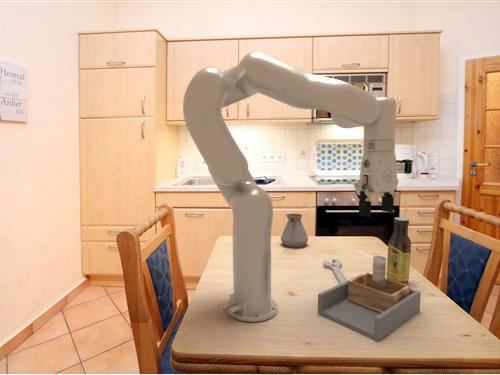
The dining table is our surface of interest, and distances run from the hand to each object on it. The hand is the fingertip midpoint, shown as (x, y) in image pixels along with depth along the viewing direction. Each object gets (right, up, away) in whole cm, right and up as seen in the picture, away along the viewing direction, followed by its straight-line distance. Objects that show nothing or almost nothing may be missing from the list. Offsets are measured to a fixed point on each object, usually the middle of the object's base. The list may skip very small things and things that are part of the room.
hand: (376, 213), depth 88 cm
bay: (-3, -24, -4) cm, 25 cm away
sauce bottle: (+11, -22, +13) cm, 28 cm away
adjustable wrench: (-5, -22, +20) cm, 30 cm away
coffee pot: (-15, -18, +48) cm, 54 cm away
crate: (0, -23, -2) cm, 23 cm away
